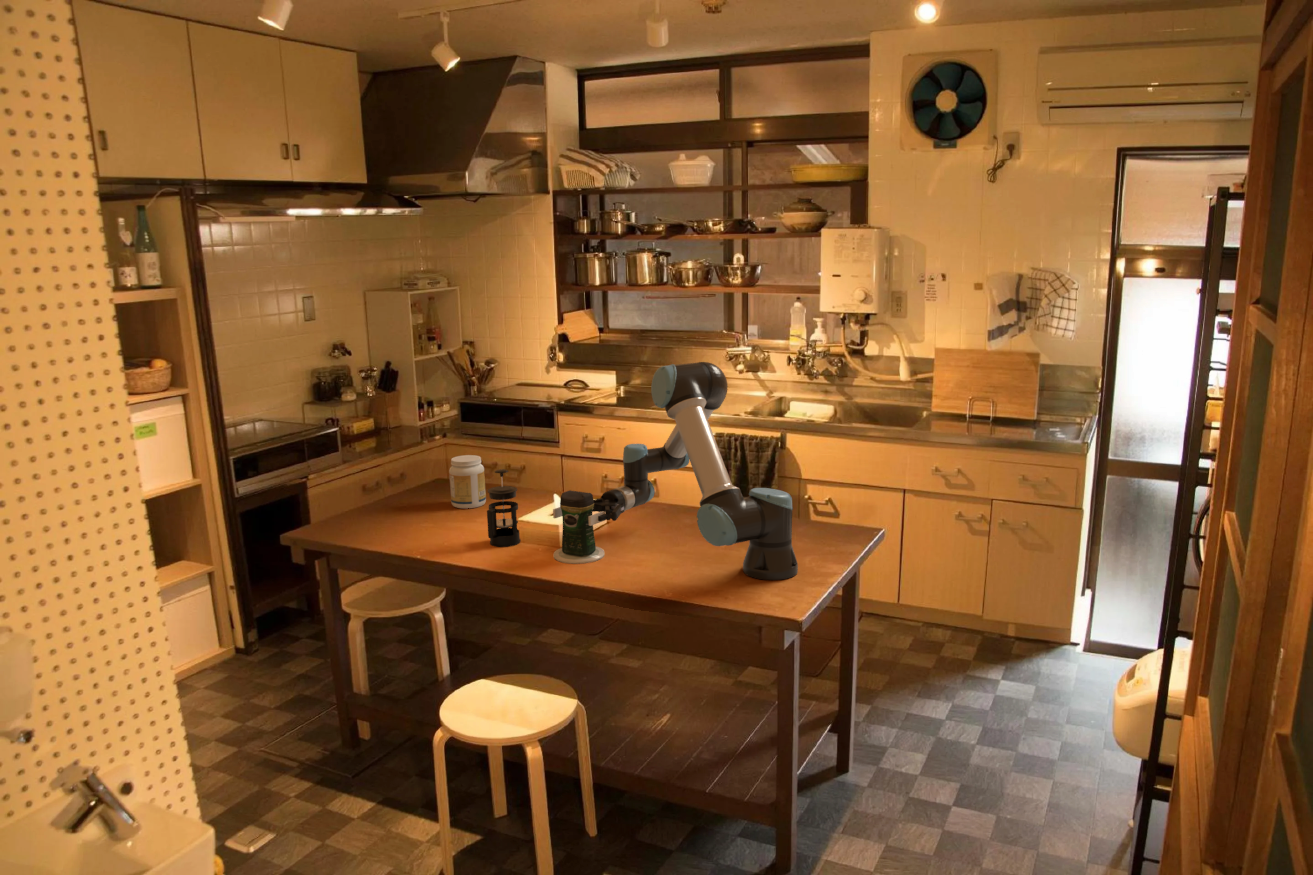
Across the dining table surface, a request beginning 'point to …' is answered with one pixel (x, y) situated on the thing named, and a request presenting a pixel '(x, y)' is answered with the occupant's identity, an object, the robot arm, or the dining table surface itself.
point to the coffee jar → (577, 523)
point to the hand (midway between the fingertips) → (571, 517)
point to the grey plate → (579, 557)
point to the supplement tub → (467, 482)
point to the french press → (504, 533)
